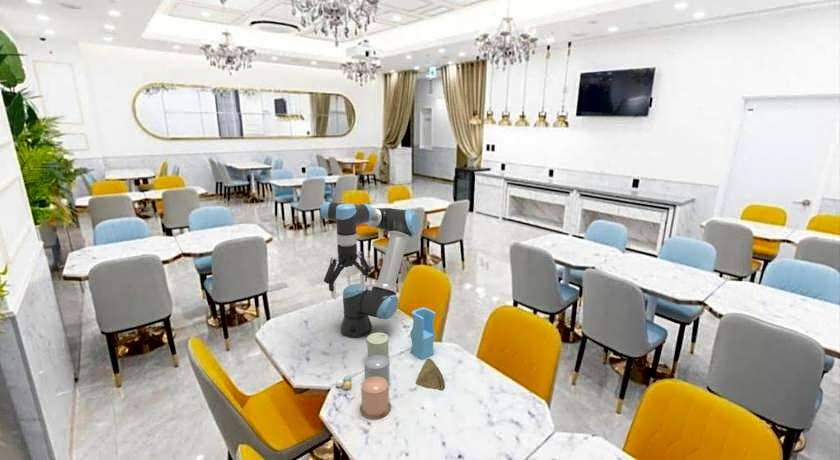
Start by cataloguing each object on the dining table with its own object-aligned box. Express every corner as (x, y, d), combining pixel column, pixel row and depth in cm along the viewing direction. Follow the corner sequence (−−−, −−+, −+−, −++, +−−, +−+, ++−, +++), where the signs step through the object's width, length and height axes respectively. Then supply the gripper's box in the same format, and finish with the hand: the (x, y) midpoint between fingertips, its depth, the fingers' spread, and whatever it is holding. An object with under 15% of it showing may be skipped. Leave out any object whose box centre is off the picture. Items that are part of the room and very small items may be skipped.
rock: (452, 381, 154) (437, 365, 161) (444, 371, 148) (428, 356, 156) (433, 402, 151) (418, 386, 159) (424, 394, 146) (409, 377, 153)
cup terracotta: (393, 408, 141) (393, 385, 139) (371, 419, 135) (371, 396, 133) (378, 394, 148) (378, 373, 146) (357, 405, 142) (356, 383, 140)
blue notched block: (421, 360, 171) (422, 318, 166) (410, 352, 176) (410, 311, 171) (435, 353, 176) (436, 312, 171) (423, 346, 182) (423, 306, 176)
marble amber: (349, 384, 154) (348, 378, 154) (353, 388, 152) (352, 381, 151) (342, 388, 152) (342, 381, 152) (346, 391, 150) (346, 385, 149)
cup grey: (380, 372, 163) (379, 352, 160) (393, 383, 156) (393, 362, 153) (361, 380, 157) (360, 360, 154) (374, 392, 150) (373, 371, 148)
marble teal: (349, 379, 158) (348, 372, 157) (353, 383, 155) (352, 376, 155) (342, 382, 156) (342, 375, 155) (346, 386, 154) (346, 379, 153)
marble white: (341, 382, 155) (341, 376, 155) (345, 386, 153) (344, 379, 152) (334, 385, 154) (334, 379, 153) (338, 389, 151) (338, 383, 151)
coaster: (379, 394, 149) (379, 392, 149) (397, 409, 141) (397, 408, 141) (354, 406, 142) (354, 405, 142) (371, 424, 134) (371, 422, 134)
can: (393, 361, 170) (393, 336, 166) (377, 371, 163) (376, 345, 160) (379, 353, 176) (378, 329, 173) (362, 362, 169) (362, 337, 166)
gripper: (368, 236, 166) (369, 283, 171) (313, 247, 150) (316, 298, 155) (378, 240, 160) (379, 288, 166) (322, 252, 144) (325, 305, 150)
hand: (348, 293), depth 161 cm, fingers open, 13 cm apart
